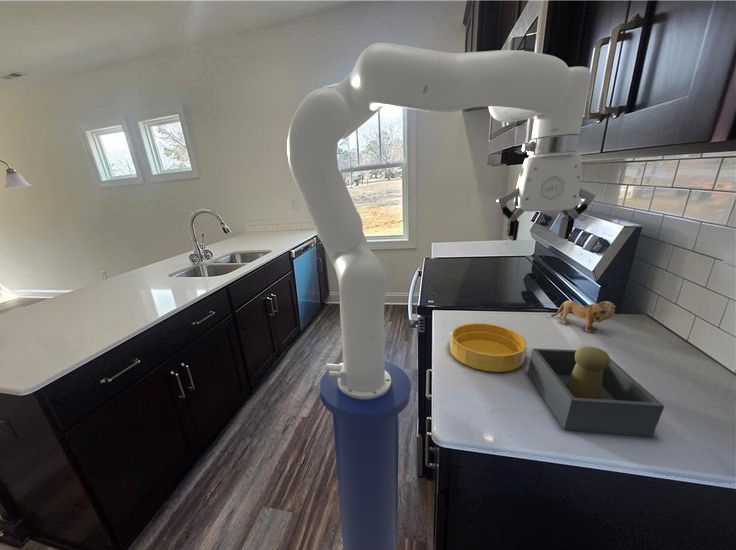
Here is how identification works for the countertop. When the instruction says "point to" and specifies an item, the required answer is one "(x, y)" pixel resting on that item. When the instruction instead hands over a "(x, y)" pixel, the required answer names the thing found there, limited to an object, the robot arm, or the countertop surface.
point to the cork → (588, 373)
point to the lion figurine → (587, 312)
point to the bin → (606, 415)
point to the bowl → (488, 347)
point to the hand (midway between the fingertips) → (537, 238)
